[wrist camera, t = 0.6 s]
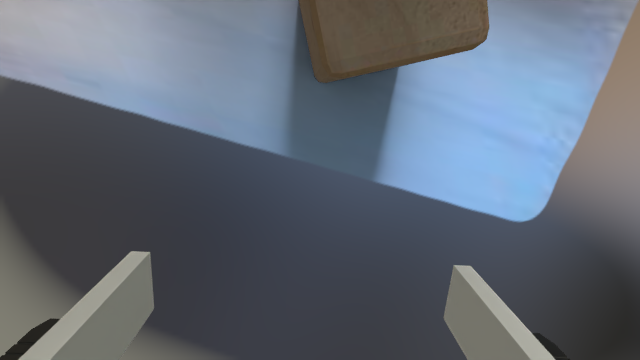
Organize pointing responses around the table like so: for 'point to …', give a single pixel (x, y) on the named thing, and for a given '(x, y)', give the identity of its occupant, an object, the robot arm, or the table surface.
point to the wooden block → (388, 33)
